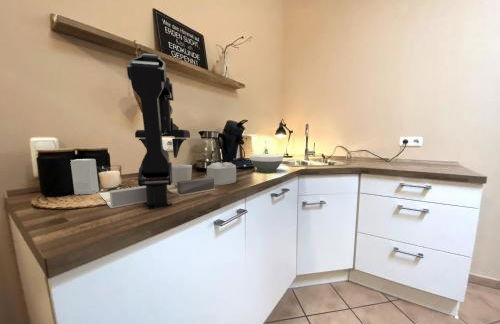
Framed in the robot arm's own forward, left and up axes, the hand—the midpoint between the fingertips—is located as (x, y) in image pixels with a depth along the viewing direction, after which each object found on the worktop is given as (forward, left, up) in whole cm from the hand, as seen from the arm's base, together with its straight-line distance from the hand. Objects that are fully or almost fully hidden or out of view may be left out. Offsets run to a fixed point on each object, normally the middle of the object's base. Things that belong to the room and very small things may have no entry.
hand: (163, 157), depth 82 cm
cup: (+3, -7, -12) cm, 14 cm away
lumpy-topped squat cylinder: (-1, -25, -13) cm, 28 cm away
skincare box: (+14, +22, -13) cm, 29 cm away
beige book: (-2, -8, -12) cm, 14 cm away
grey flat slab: (-1, +12, -12) cm, 18 cm away
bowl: (+8, -63, -13) cm, 64 cm away
